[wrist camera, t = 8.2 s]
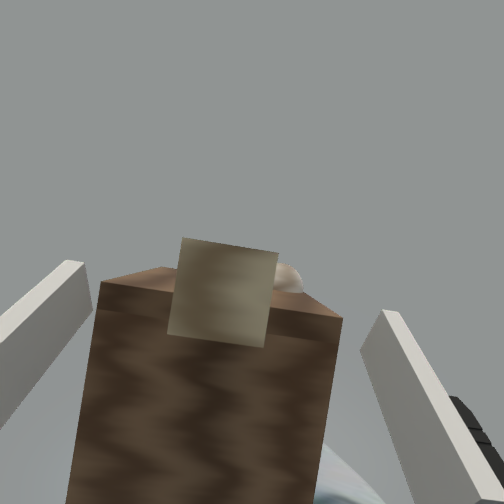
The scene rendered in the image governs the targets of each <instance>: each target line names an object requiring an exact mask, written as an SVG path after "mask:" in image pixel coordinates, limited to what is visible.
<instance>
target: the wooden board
mask: <svg viewBox="0 0 504 504" xmlns="http://www.w3.org/2000/svg"><path fill="white" fill-rule="evenodd" d="M278 254H279V253H276V252H270V251H264V250H258V249H251V248H245V247H239V246H232V245H227V244H221V243H214V242H208V241H202V240H196V239H190V238H182V243H181V250H180V255H179V262H178V268H177V274H176V280H175V286H174V293H173V299H172V305H171V311H170V317H169V324H168V330H167V334H169V335H176V336H183V337H190V338H197V339H204V340H211V341H218V342H225V343H232V344H239V345H246V346H253V347H260V348H263V347H264V341H265V334H266V328H267V322H268V316H269V310H270V304H271V297H272V291H273V285H274V279H275V273H276V267H277V260H278Z"/></svg>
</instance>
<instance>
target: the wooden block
mask: <svg viewBox="0 0 504 504" xmlns="http://www.w3.org/2000/svg"><path fill="white" fill-rule="evenodd" d="M176 274H177V269H173V268H166V267H159V268H155V269H150V270H146V271H142V272H138V273H134V274H130V275H126V276H122V277H117V278H113V279H109V280H105V281H101V284H100V291H99V297H98V303H97V310H96V315H95V322H94V329H93V335H92V341H91V348H90V353H89V359H88V366H87V372H86V379H85V384H84V391H83V397H82V404H81V410H80V416H79V422H78V428H77V435H76V441H75V447H74V454H73V460H72V466H71V472H70V478H69V485H68V491H67V497H66V503H65V504H313V499H314V493H315V487H316V481H317V475H318V469H319V463H320V457H321V450H322V444H323V438H324V432H325V426H326V420H327V414H328V408H329V401H330V395H331V389H332V383H333V377H334V371H335V365H336V359H337V352H338V346H339V340H340V334H341V327H342V321H343V318H342V317H341V316H339V315H338V314H336V313H334V312H333V311H331V310H330V309H328V308H327V307H325V306H324V305H322V304H321V303H319V302H318V301H316V300H315V299H313V298H312V297H310V296H309V295H307V294H306V293H304V292H303V282H302V279H301V277H300V275H299V273H298V272H297V271H296V270H295V269H294V268H292V267H291V266H289V265H287V264H283V263H277V267H276V273H275V279H274V285H273V291H272V297H271V304H270V310H269V316H268V322H267V328H266V334H265V341H264V347H263V348H260V347H253V346H246V345H239V344H232V343H225V342H218V341H211V340H204V339H197V338H190V337H183V336H176V335H169V334H167V330H168V324H169V317H170V311H171V305H172V299H173V293H174V286H175V280H176Z"/></svg>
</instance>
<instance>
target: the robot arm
mask: <svg viewBox="0 0 504 504" xmlns="http://www.w3.org/2000/svg"><path fill="white" fill-rule="evenodd" d="M92 311H93V308H92V302H91V296H90V291H89V285H88V280H87V274H86V268H85V263H84V262H78V261H71V260H65V261H64V262H63V263H62V264H61V265H60V266H58V267H57V268H56V269H55V270H54V271H53V272H51V273H50V274H49V275H48V276H47V277H46V278H44V279H43V280H42V281H41V282H40V283H39V284H37V285H36V286H35V287H34V288H33V289H32V290H30V291H29V292H28V293H27V294H26V295H25V296H23V297H22V298H21V299H20V300H19V301H18V302H16V304H14V305H13V306H12V307H11V308H9V309H8V310H7V311H6V312H5V313H4V314H3V315H1V316H0V429H1V428H2V427H3V426H4V424H5V423H6V422H7V420H8V419H9V418H10V417H11V415H12V414H13V413H14V411H15V410H16V409H17V407H18V406H19V405H20V404H21V402H22V401H23V400H24V398H25V397H26V396H27V395H28V393H29V392H30V391H31V389H32V388H33V387H34V386H35V384H36V383H37V382H38V381H39V379H40V378H41V377H42V375H43V374H44V373H45V372H46V370H47V369H48V368H49V366H50V365H51V364H52V363H53V361H54V360H55V358H56V357H57V356H58V355H59V354H60V352H61V351H62V350H63V348H64V347H65V346H66V344H67V343H68V342H69V341H70V339H71V338H72V337H73V336H74V334H75V333H76V332H77V330H78V329H79V328H80V327H81V325H82V324H83V323H84V321H85V320H86V319H87V317H88V316H89V315H90V314H91V312H92ZM360 352H361V355H362V358H363V361H364V363H365V366H366V369H367V372H368V375H369V377H370V380H371V382H372V386H373V388H374V391H375V394H376V397H377V400H378V402H379V405H380V408H381V411H382V414H383V416H384V419H385V422H386V425H387V427H388V430H389V433H390V436H391V438H392V441H393V444H394V447H395V450H396V452H397V455H398V458H399V461H400V464H401V466H402V469H403V472H404V475H405V477H406V480H407V483H408V486H409V489H410V492H411V494H412V497H413V500H414V503H415V504H504V462H503V460H502V459H501V457H500V456H499V454H498V452H497V451H496V449H495V448H494V447H492V445H491V442H490V440H489V439H488V437H487V435H486V434H485V433H484V432H483V431H482V427H481V426H480V424H479V423H478V421H477V420H476V418H475V416H474V415H473V413H472V412H471V411H470V410H469V409H468V408H467V407H466V406H465V405H464V404H463V402H461V400H459V398H458V397H454V396H448V395H447V393H446V392H445V389H444V388H443V386H442V384H441V383H440V381H439V379H438V378H437V376H436V374H435V373H434V371H433V369H432V368H431V366H430V364H429V363H428V361H427V359H426V357H425V356H424V354H423V353H422V351H421V349H420V347H419V346H418V344H417V342H416V341H415V339H414V337H413V336H412V334H411V332H410V331H409V329H408V327H407V326H406V324H405V322H404V320H403V319H402V317H401V315H400V314H399V312H396V311H389V310H383V309H382V310H381V312H380V314H379V316H378V318H377V320H376V321H375V323H374V325H373V327H372V329H371V331H370V332H369V334H368V336H367V338H366V340H365V342H364V343H363V345H362V347H361V349H360Z"/></svg>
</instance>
